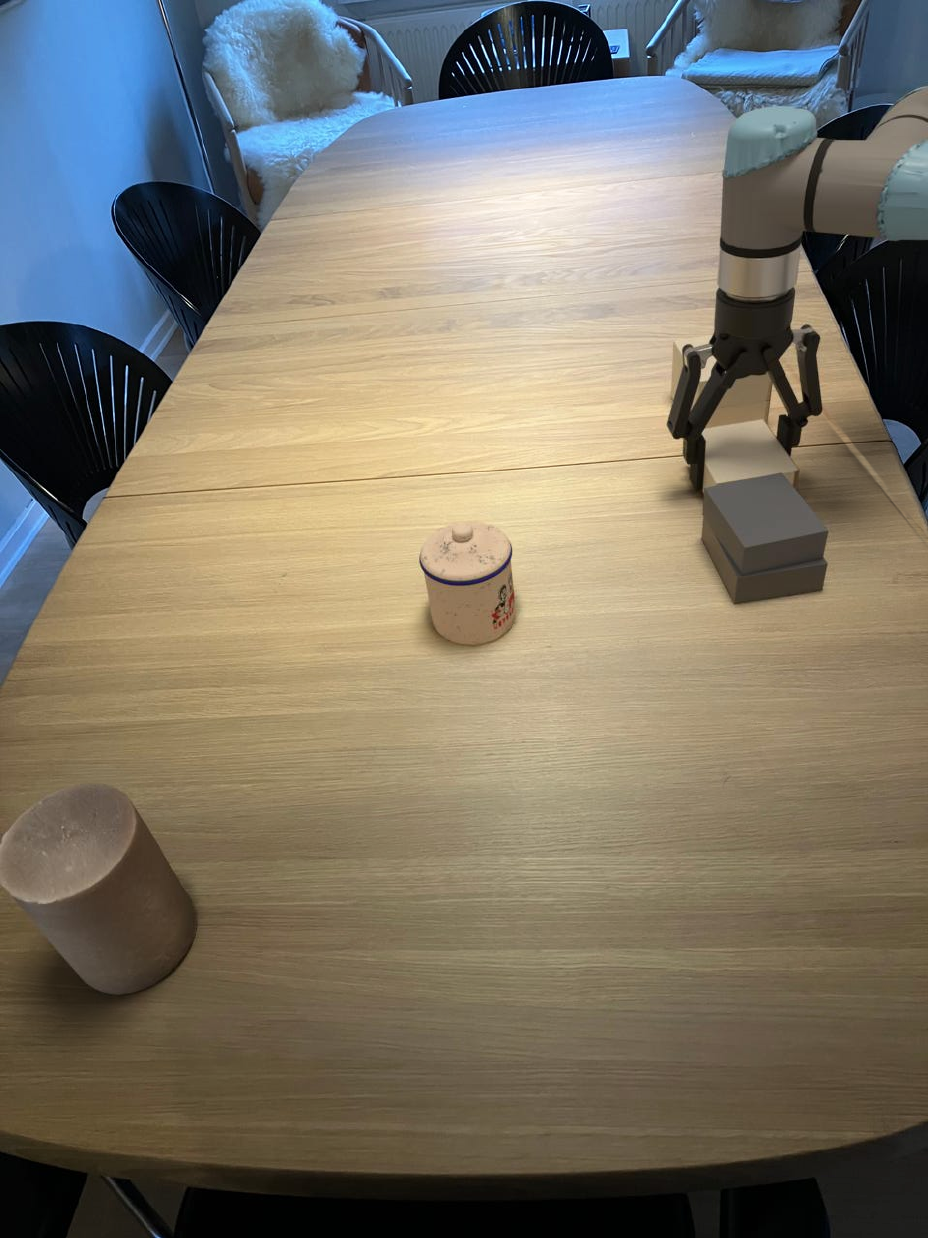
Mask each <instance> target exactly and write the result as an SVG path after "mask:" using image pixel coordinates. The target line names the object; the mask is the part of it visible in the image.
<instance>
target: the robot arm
mask: <svg viewBox="0 0 928 1238" xmlns="http://www.w3.org/2000/svg"><path fill="white" fill-rule="evenodd" d="M816 127H817V120H816V117H815V115H814V114H813V113H812V112H811V111H810V110H808V109H806V108H796V107H794V106H788V105H787V106H786V105H785V106H784V105H779V106H778V105H777V106H767V107H762V108H761V107H760V108H757V109H752V110H750V111H747V112H745V113H743V114H741V115H740V116H738V117H737V118H736V119H735V120H734V121H733V122H732V124H730V126H729V129H728V131H727V140H726V147H725V156H724V157H725V158H724V165H723V166H724V167H723V169H722V172H721V176H722V189H721V191H722V194H721V215H720V216H721V217H720V236H719V244H718V245H719V247H718V260H717V261H718V263H717V279H716V284H717V286H718V288H717V289H716V292H715V303H714V305H715V306H714V319H713V320H714V321H713V325H714V326H713V333H712V335H713V336H712V338H711V339H710V341H709V344H705V345H701V346H698V347H693V346H692V345H691V344H687V345H685V346H684V347H683V348H682V357H683V368H682V371H681V375H680V378H679V382H678V385H677V389H676V392H675V396H674V399H673V400H672V403H671V407H670V411H669V414H668V417H667V420H666V427H667V429H668V431H669V434H671V436H672V439H674V440H680V439H682V457H683V459H684V461H685V463H686V465H687V466H688V465H690V467H689V481H690V482H691V485H692V486H693V488H694V489H695V491H696V492H703V491H702V490H703V478H704V463H705V449H706V440H705V439H704V437H703V435H702V432H703V430H704V429H705V427H706V425H707V424H708V422H709V420H710V418H711V417H712V415H713V413H714V412H715V410H716V408H717V407H718V405H719V403H720V401H721V400H722V398H723V396H724V395H725V393H726V391H727V390H728V389H730V388H731V387H732V386H733V384H734V382H735V381H736V379H742V378H745V377H748V376H750V375H757V376H760V375H766V372H767V373H768V375H769V377H770V379H771V381H772V383H773V385H772V386H773V387H774V389H775V391H776V393H777V395H778V397H779V399H780V401H781V403H782V405H783V408H784V409H785V412H786V413H787V414H785V413H784V414H778V421H777V427H776V435H775V436H776V437H777V439H778V440H779V442H780V443H781V445H782V446H783V447H784V449H785V450H786V452H787V453H788V454H789V456H790V457H792V450H793V448H797V447H799V445H800V443H801V437H802V431H803V428H805V427H806V426H807V425H808V424H809V419H808V418H810V417H812V416H813V417H819V416H820V415H821V414H822V412H823V403H822V402H823V401H822V400H823V399H822V393H821V383H820V376H819V368H818V366H819V365H818V357H817V354H818V351H819V350H818V349H819V345H820V342H821V335H820V334H819V333H818V331H816V330H815V329H814V327H813V326H811V324H810V323H805V324H803V325H802V326H801V327H800V328H794V329H792V327H791V324H792V321H793V315H794V306H795V298H796V289H795V286H796V285H797V281H798V276H799V275H798V274H799V265H800V257H801V249H802V241H803V234H804V233H803V232H808V233H809V232H810V233H824V234H834V235H843V236H844V235H845V236H855V237H864V238H877V239H885V240H886V241H891V242H892V241H893V242H898V241H902V240H903V241H928V85H925V86H921V87H918V88H916V89H913V90H912V91H910V92H907V93H906V94H905V95H904V96H902V97H901V98H900V99H898V100H897V101H895V103H893V104H892V105H891V106H889V108H888V109H887V110H886V112H885V113H884V115H883V116H882V117H881V119H880V121H879V122H878V124H877V125H876V126H875V128H874V129H873V130H872V131H871V133H870V134H869V135H868V136H867V138H866V139H865V140H862V139H861V140H859V139H858V140H849V139H848V140H845V139H841V140H840V139H838V140H837V139H831V138H825V137H824V138H823V137H818V130H817V128H816ZM791 345H792V346H793V347H794V348H795V350H796V351H795V352H796V360H797V367H798V376H799V383H800V390H801V398H802V401H800V402H799V400H798V398H797V396H796V394H795V392H794V390H793V388H792V385H791V384H790V381H789V380H788V377H787V375H786V372H785V369H784V368H783V365H782V364H781V361H780V359H781V358H782V357H783V355H784V354H785V353H786V352H787V350H788V349H789V348H790V347H791ZM711 356H713V357H714V358H715V359H716V360H717V361H716V363H715V364H714V366H713V368H712V370H711V376H710V378H709V380H708V381H707V383H706V385H705V387H704V388H703V390H702V392H701V394H700V395H699V397H698V399H697V401H696V403H695V404H694V406H693V408H692V404H693V401H694V398H695V394H696V391H697V388H698V384H699V381H700V377H701V369H704V368H705V366H706V362H707V359H708V358H709V357H711ZM725 371H726V373H725ZM691 408H692V410H691Z"/></svg>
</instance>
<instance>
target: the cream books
mask: <svg viewBox="0 0 928 1238" xmlns="http://www.w3.org/2000/svg"><path fill="white" fill-rule="evenodd" d="M712 336H713V334H709V335H702V336H696V337H690V338H689V337H688V338H683V339H676V340H673V341H672V359H671V360H672V361H671V379H670V380H671V382H670V387H671V388H670V399H671V400H672V401H673V399H674V396H675V392H676V389H677V385H678V382H679V378H680V375H681V371H682V368H683V357H682V348H683V347H684V346H685V345H687V344H691V345H692V346H693V347H698V346H701V345H705V344H709V341H710V339H711V338H712ZM716 361H717V360H716V359H715V358H714V357H713V356H711V357H709V358H708V359H707V362H706V366H705V368H704V369H701V377H700V381H699V384H698V388H697V391H696V394H695V398H694V401H693V404H692V408H693V406H694V404H695V403H696V401H697V399H698V397H699V395H700V394H701V392H702V390H703V388H704V387H705V385H706V383H707V381H708V380H709V378H710V376H711V370H712V368H713V366H714V364H715V363H716ZM725 373H726V371H725ZM773 386H774V385H773V383H772V381H771V379H770V377H769V375H768V373H767V372H766V375H760V376H757V375H750V376H748V377H745V378H742V379H736V381H735V382H734V384H733V386H732V387H731V388H730V389H728V390H727V391H726V393H725V395H724V396H723V398H722V400H721V401H720V403H719V405H718V407H717V408H716V410H715V412H714V413H713V415H712V417H711V418H710V420H709V422H708V424H707V425H706V427H705V429H706V428H712V427H718V426H724V425H731V424H737V423H743V422H749V421H755V420H761V419H764V420H765V422H766V423H767V425H769V415H770V407H771V400H772V399H771V398H772V393H773V392H772V391H773ZM692 408H691V410H692Z"/></svg>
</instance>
